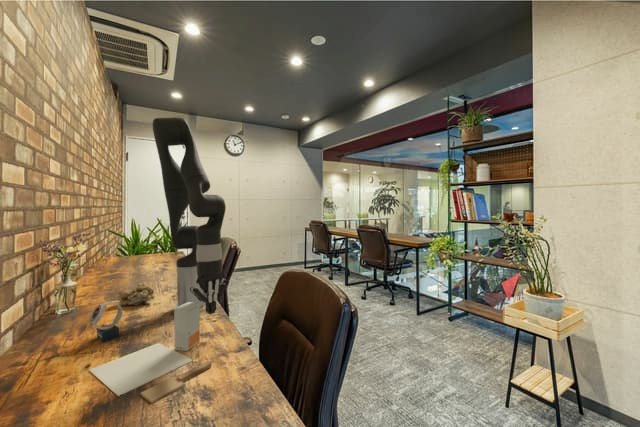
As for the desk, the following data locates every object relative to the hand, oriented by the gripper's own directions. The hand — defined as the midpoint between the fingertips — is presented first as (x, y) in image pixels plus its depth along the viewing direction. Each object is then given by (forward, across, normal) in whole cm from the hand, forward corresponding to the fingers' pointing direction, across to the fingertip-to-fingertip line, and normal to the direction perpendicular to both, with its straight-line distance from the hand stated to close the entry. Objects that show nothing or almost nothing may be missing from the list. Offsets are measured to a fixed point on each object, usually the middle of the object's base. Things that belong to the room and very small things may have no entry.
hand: (211, 313), depth 90 cm
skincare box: (+8, +8, 0) cm, 11 cm away
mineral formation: (+7, -1, -55) cm, 56 cm away
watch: (+7, +19, -27) cm, 34 cm away
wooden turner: (+7, +19, +15) cm, 25 cm away
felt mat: (+7, +20, 0) cm, 22 cm away
